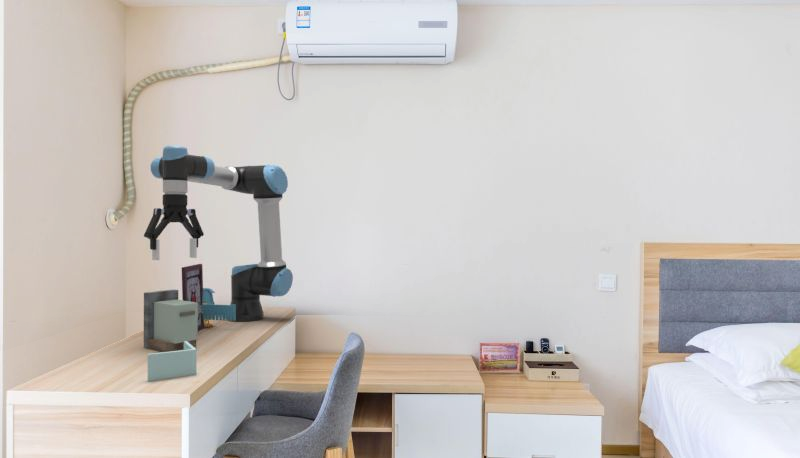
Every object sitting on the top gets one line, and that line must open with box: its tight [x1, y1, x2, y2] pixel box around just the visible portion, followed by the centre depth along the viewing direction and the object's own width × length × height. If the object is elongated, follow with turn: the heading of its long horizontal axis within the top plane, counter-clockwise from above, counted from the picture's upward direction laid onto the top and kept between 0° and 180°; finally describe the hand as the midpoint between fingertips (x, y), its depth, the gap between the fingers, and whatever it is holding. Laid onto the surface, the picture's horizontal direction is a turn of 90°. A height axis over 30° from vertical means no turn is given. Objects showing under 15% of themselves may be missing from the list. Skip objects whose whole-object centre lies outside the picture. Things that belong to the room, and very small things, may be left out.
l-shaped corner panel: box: [147, 341, 198, 382], centre depth 151 cm, size 12×12×8 cm
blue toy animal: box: [200, 287, 236, 328], centre depth 216 cm, size 28×9×15 cm, turn 86°
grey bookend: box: [143, 289, 197, 353], centre depth 182 cm, size 11×12×18 cm
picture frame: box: [181, 263, 205, 332], centre depth 206 cm, size 17×10×25 cm, turn 179°
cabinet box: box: [154, 299, 199, 344], centre depth 181 cm, size 8×13×12 cm, turn 55°
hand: (175, 258), depth 181 cm, fingers open, 13 cm apart
